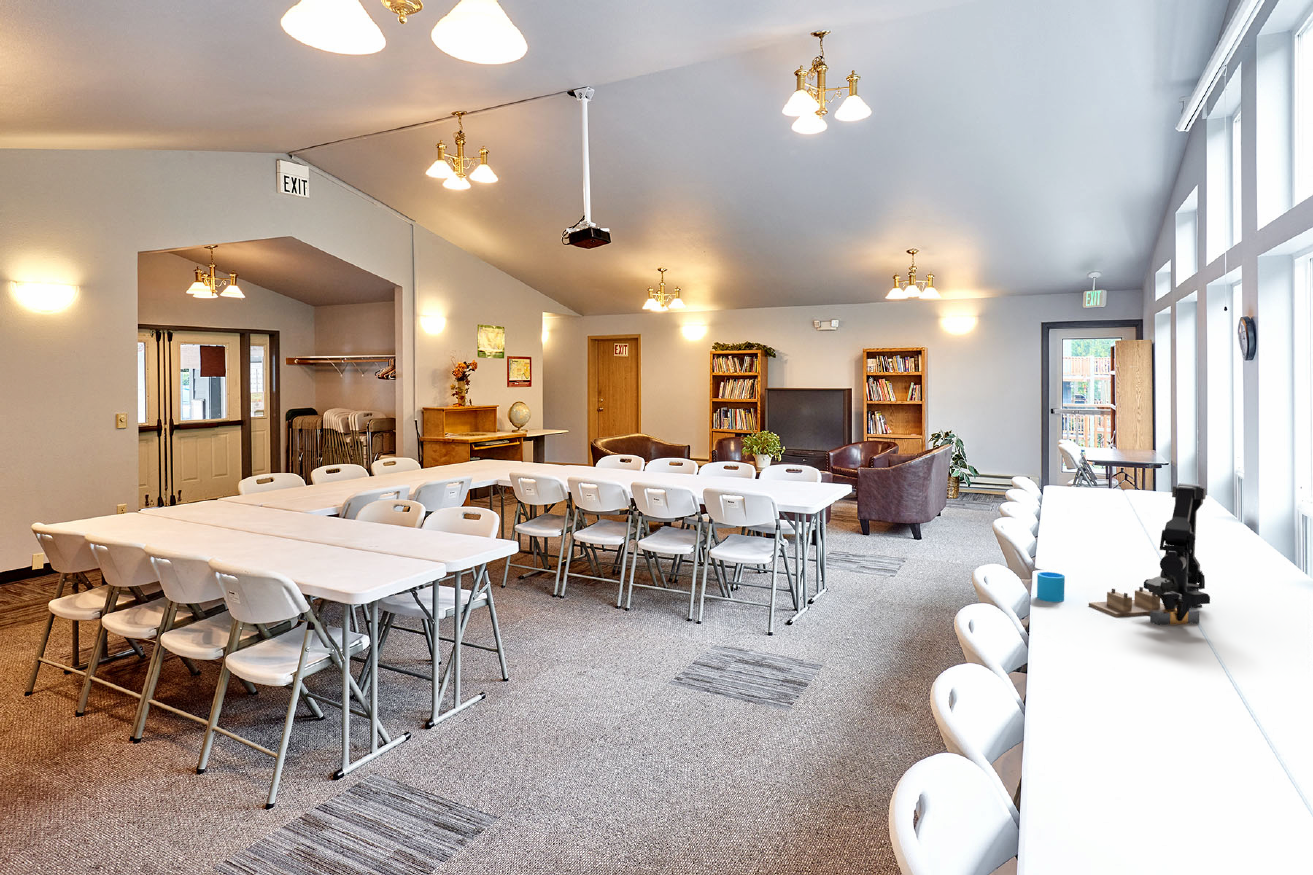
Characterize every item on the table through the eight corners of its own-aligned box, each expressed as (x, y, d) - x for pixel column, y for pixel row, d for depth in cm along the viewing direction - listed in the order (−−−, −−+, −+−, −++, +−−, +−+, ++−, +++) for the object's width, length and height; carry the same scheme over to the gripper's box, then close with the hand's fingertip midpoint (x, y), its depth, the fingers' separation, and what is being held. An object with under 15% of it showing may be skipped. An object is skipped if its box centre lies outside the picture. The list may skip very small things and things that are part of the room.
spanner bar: (1190, 619, 230) (1190, 607, 230) (1199, 622, 227) (1199, 610, 227) (1149, 622, 228) (1150, 610, 228) (1158, 625, 225) (1158, 613, 225)
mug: (1059, 603, 248) (1060, 579, 248) (1033, 598, 254) (1034, 575, 254) (1070, 596, 257) (1071, 572, 256) (1045, 591, 263) (1045, 568, 262)
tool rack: (1148, 601, 249) (1149, 583, 248) (1179, 612, 237) (1179, 593, 236) (1088, 605, 245) (1089, 587, 245) (1116, 616, 234) (1116, 597, 233)
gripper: (1128, 562, 234) (1127, 611, 236) (1178, 577, 216) (1176, 630, 217) (1160, 560, 236) (1158, 609, 237) (1212, 575, 218) (1210, 628, 219)
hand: (1174, 618), depth 227 cm, fingers closed on spanner bar, 3 cm apart
